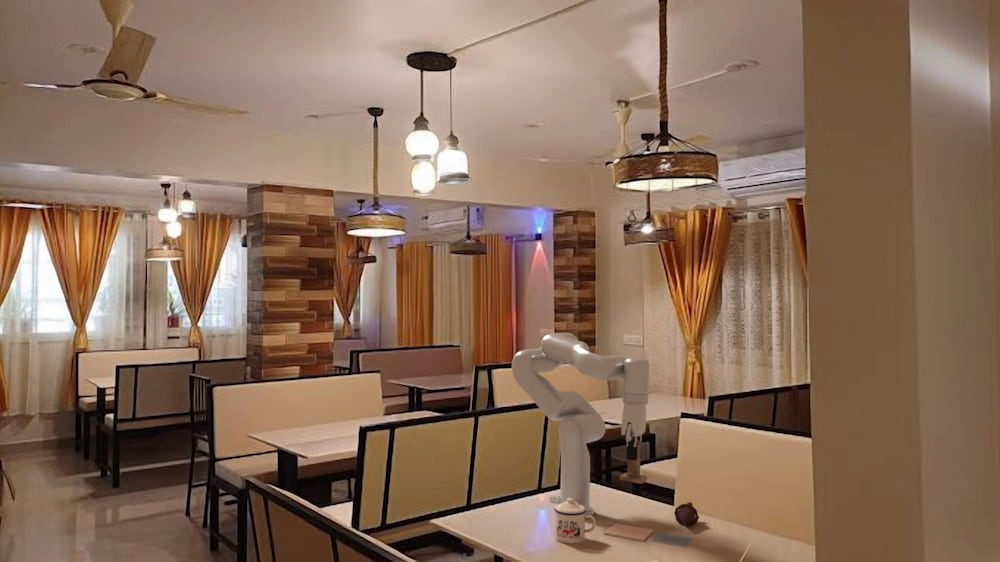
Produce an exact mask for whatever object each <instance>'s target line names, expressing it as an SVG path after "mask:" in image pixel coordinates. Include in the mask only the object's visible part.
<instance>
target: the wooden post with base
mask: <svg viewBox="0 0 1000 562" xmlns="http://www.w3.org/2000/svg"><path fill="white" fill-rule="evenodd" d="M633 440H634V439H633ZM636 447H638V449H637V460H629V459H627V472H624V473H622V474H621V475H619V480H620V481H623V482H627V483H628V482H630V483H635V484H644V483H645V482H646V481H648V476H647V475H644V474H643V475H642V474H641V457H640V452H641V453H642V443H641V440H637V445H636Z"/></svg>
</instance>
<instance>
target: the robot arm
mask: <svg viewBox="0 0 1000 562" xmlns="http://www.w3.org/2000/svg"><path fill="white" fill-rule="evenodd" d="M564 364H567V365H569V366H571V367H575V369H576V370H577V371H579V372H580V373H581V374H583V375H585V376H588V377H591V378H593V379H595V380H599V381H612V380H621V379H623V395H622V403H623V410H622V416H621V417H622V420H621V431H620V433H621V436H624V437H625V441H626V459H627V460H628V459H629V460H637V449H638V447H636V445H637V440H641V444H642V443H643V441H642V440H643V439H642V437H643V434H645V433H646V424H647V413H646V411H647V408H646V405H649V382H650V381H649V379H650V378H649V377H650V376H649V375H650V362H649V360H648V359H647V358H642V357H631V356H629V355H623V354H613V355H610V354H609V355H599V354H596V353H595V352H594V353H593V352H591V351H590V347H589V346H588V344H587V343H586V342H584V341H580V340H579V339H578V337H577V336H575V335H574V334H573V333H571V332H551V333H549V334H548V333H547V334H546V335H545V336H543V338H542V339H541V341H540V347H539V348H528V349H522V350H519V351H518V352H516V353H515V354H514V356H513V358H512V361H511V373H512V375H513V378H514V380H515V383H517V385H518V386H519V387H520V388H521V389H522V390H523V392H525V393H526V394H527V395H528V396H529V398H530V399H531V400H532V402H534V404H536V406H537V407H538V408H539V409H540V411H541V412H543V414H544V415H545V416H546V417H547V418H548V419H549V420H550V421H552V422H560V424H559V425H558V438H559V445H560V446H559V447H560V492H559V493H560V494H559V496H556V495H550V496H549V502H550V503H551V504H556V506H557V505H558V504H562V503H564V502H566V501H567V499H568V498H572V499H574V502H576V503H577V504H579V505H582V506H584V507H585V510H586V512H585V515H591V516H592V517H593V516H594V514H595V509H594V508H593V507H592V506H590V495H591V494H590V489H591V486H590V485H591V480H590V479H591V455H590V451H589V448H588V446H587V444H588V443H594V442H596V441H599V440H601V439H602V438H603V437H604V436H605V433H606V423H605V421H604V419H603V417H602V416H601V415H600V414H599V412H598V411H597V410H596V409H595V408H594V407H593V406H592V405H591V404H590V403H589V402H588V400H587V399H586V398H585V397H583V396H582V395H581V394H580V393H578V392H577V391H572V390H568V391H560V390H558V389H557V388H556V387H555V386H554V385H553V384H552V383H551V382H550V381H549V380H548V379H547V378H546V377H544V376H542V375H540V374H539V373H547V372H551V371H554V370H555V369H558V367H560V366H562V365H564ZM633 439H634V440H633ZM640 458H642V451H641V452H640Z"/></svg>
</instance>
